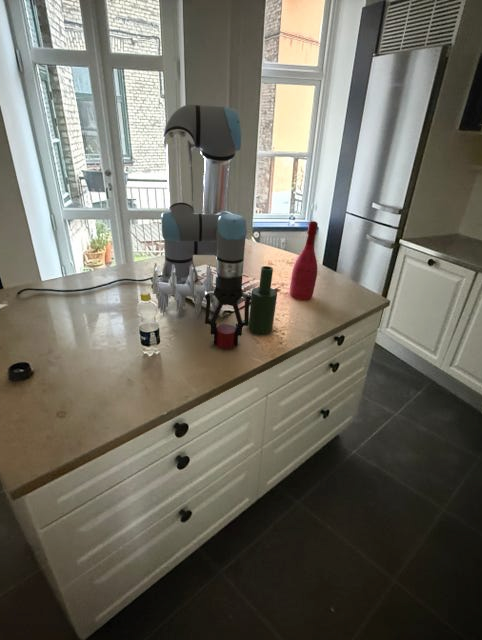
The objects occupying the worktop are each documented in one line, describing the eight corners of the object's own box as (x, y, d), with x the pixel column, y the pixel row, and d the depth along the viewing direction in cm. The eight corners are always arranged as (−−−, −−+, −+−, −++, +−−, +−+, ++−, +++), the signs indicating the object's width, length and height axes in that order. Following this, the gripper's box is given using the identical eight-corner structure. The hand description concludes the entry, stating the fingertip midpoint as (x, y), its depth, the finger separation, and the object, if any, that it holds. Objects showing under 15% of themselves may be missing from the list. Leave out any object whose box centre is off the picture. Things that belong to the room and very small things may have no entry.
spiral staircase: (222, 328, 134) (152, 324, 131) (222, 291, 143) (156, 286, 140) (228, 296, 119) (148, 290, 115) (227, 256, 127) (153, 249, 124)
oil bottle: (249, 335, 124) (255, 272, 111) (247, 323, 131) (253, 262, 118) (273, 336, 124) (281, 273, 112) (270, 324, 131) (278, 264, 119)
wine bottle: (311, 292, 156) (325, 219, 139) (313, 302, 148) (328, 226, 131) (288, 290, 157) (299, 217, 140) (288, 300, 149) (300, 223, 132)
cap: (215, 348, 114) (216, 333, 111) (216, 338, 119) (216, 323, 116) (235, 349, 115) (236, 334, 112) (234, 339, 120) (235, 324, 117)
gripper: (194, 277, 100) (194, 348, 113) (264, 280, 101) (256, 351, 114) (196, 267, 106) (196, 335, 119) (261, 270, 107) (254, 338, 121)
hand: (225, 343), depth 117 cm, fingers closed on cap, 6 cm apart
